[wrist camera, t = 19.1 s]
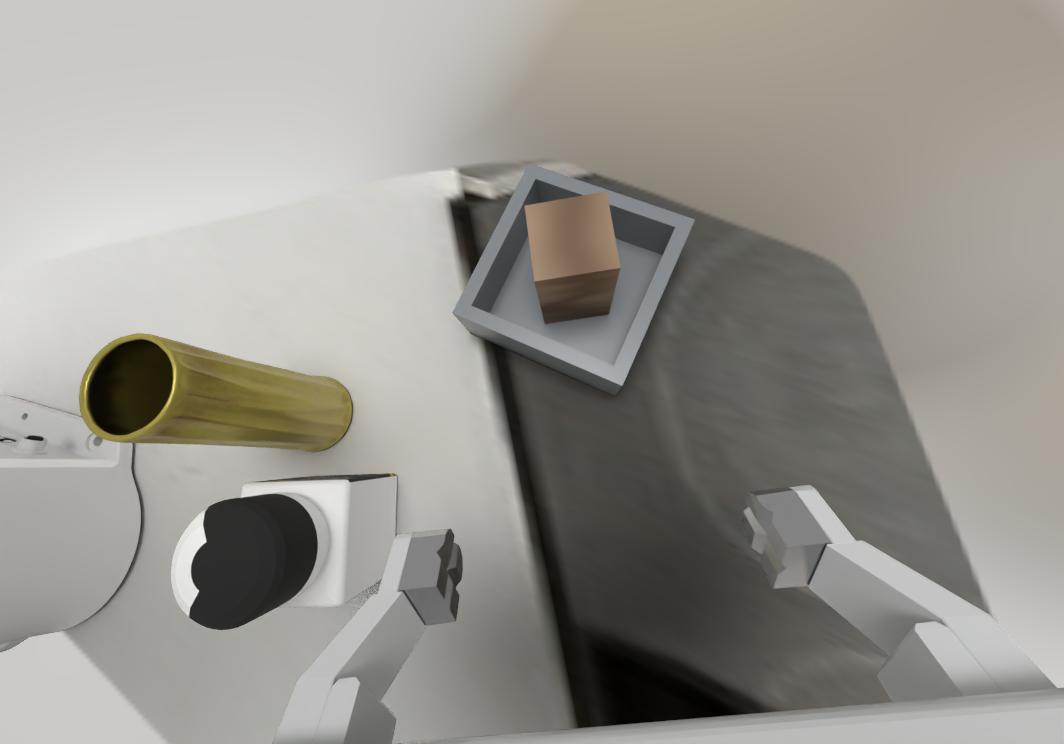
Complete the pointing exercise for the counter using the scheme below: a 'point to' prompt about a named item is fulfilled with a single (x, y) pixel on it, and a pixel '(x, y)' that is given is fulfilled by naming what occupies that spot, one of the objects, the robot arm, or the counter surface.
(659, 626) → the counter surface
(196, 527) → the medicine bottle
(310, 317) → the counter surface
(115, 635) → the counter surface
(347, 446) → the counter surface
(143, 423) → the vase
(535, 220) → the block
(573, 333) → the bin
